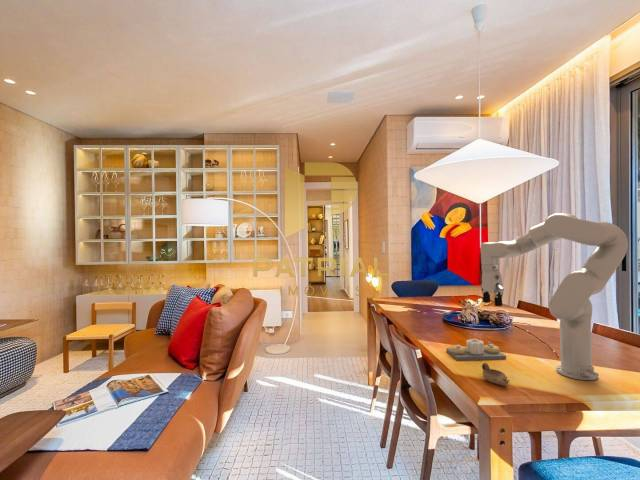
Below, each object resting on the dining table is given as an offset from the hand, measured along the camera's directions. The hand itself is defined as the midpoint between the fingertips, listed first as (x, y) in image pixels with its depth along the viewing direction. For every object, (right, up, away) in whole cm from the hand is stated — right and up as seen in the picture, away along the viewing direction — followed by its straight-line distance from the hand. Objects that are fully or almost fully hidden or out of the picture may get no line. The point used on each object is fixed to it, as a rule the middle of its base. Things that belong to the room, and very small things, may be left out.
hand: (492, 304), depth 153 cm
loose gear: (-10, -21, -5) cm, 24 cm away
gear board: (-10, -23, -4) cm, 25 cm away
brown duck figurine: (-16, -23, -31) cm, 42 cm away
